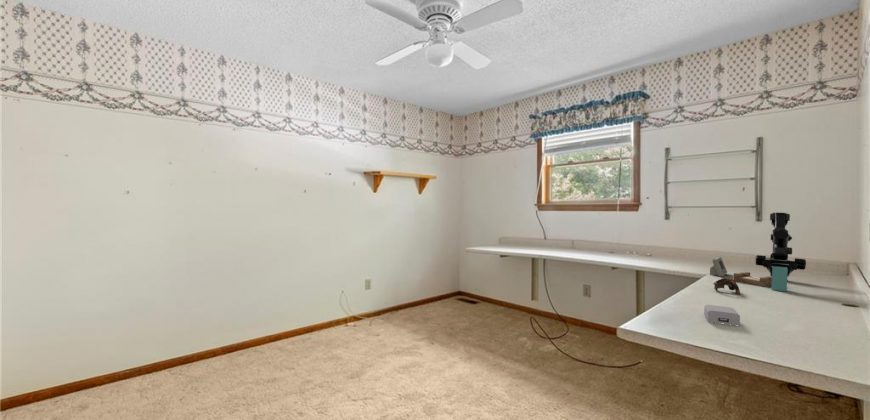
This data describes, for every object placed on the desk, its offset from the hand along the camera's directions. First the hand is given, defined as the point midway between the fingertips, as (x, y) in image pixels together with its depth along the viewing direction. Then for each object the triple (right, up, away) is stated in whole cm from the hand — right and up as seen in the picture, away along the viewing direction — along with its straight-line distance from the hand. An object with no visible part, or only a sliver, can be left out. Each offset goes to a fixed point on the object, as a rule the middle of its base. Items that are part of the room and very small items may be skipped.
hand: (779, 275), depth 184 cm
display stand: (+2, -7, +17) cm, 19 cm away
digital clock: (0, -7, +39) cm, 39 cm away
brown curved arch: (-30, -8, -4) cm, 31 cm away
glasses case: (+1, -8, +1) cm, 8 cm away
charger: (-66, -9, -46) cm, 81 cm away
